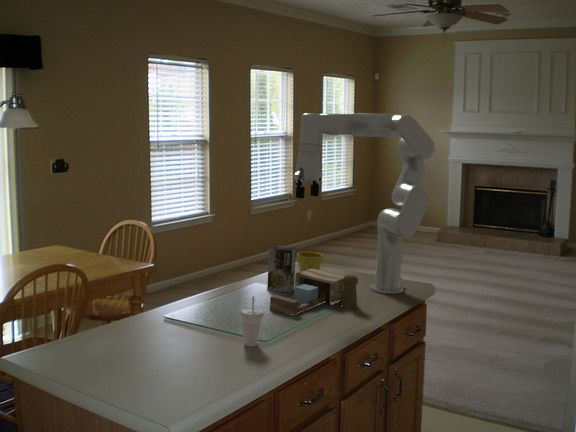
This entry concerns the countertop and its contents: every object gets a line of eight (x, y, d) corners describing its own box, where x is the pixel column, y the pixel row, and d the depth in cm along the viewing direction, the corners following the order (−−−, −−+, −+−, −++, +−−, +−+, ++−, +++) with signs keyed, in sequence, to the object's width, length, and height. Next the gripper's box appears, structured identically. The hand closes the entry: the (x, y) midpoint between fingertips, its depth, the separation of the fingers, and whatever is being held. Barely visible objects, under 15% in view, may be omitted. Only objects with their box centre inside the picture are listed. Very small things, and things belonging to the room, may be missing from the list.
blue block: (302, 300, 232) (304, 283, 231) (317, 303, 229) (318, 287, 228) (293, 303, 227) (294, 287, 226) (308, 307, 224) (309, 290, 223)
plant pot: (319, 282, 258) (320, 258, 257) (293, 279, 260) (294, 255, 259) (323, 276, 268) (325, 253, 267) (299, 273, 270) (300, 250, 269)
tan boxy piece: (309, 290, 245) (311, 268, 244) (347, 299, 237) (349, 276, 235) (294, 296, 237) (295, 273, 235) (332, 305, 228) (334, 281, 227)
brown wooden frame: (303, 297, 236) (304, 285, 235) (326, 302, 231) (327, 290, 230) (269, 309, 218) (270, 296, 218) (293, 315, 213) (294, 302, 213)
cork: (357, 304, 231) (359, 274, 229) (357, 309, 225) (359, 278, 223) (339, 303, 231) (342, 272, 230) (339, 308, 225) (341, 276, 224)
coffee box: (294, 289, 246) (297, 247, 244) (290, 293, 240) (293, 250, 238) (271, 286, 248) (273, 244, 246) (266, 290, 242) (268, 247, 240)
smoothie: (241, 348, 181) (244, 299, 179) (237, 340, 187) (239, 293, 185) (264, 347, 183) (266, 299, 181) (259, 339, 189) (261, 292, 187)
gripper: (313, 147, 240) (311, 194, 243) (287, 148, 226) (285, 197, 228) (331, 149, 236) (328, 196, 239) (306, 150, 222) (303, 200, 224)
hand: (307, 197), depth 233 cm, fingers open, 9 cm apart
